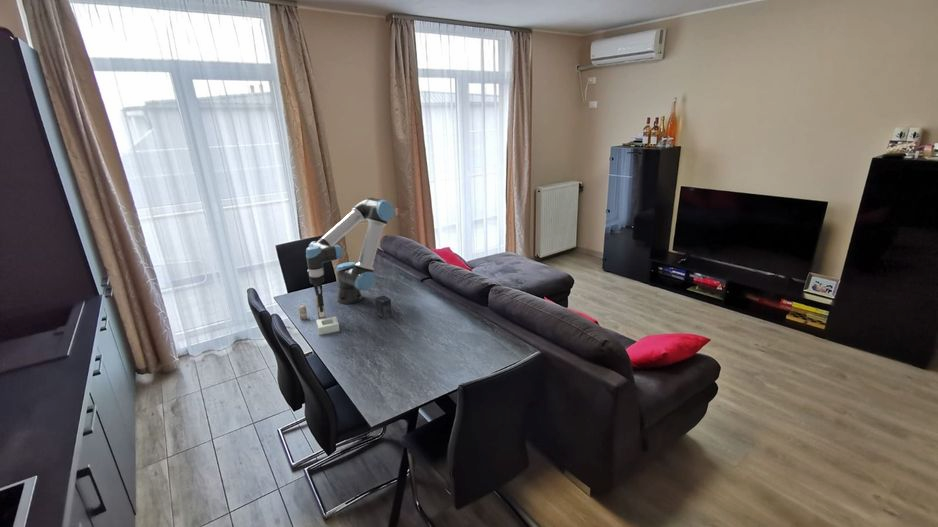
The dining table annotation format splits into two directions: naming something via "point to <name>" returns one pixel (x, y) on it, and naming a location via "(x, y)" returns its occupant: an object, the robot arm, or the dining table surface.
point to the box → (383, 307)
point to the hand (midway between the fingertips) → (321, 315)
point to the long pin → (318, 309)
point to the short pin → (302, 312)
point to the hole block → (327, 325)
